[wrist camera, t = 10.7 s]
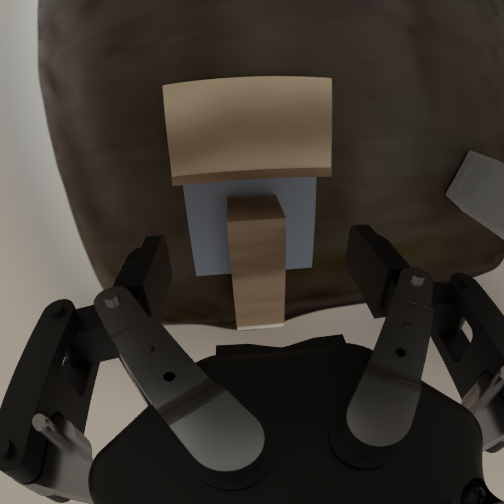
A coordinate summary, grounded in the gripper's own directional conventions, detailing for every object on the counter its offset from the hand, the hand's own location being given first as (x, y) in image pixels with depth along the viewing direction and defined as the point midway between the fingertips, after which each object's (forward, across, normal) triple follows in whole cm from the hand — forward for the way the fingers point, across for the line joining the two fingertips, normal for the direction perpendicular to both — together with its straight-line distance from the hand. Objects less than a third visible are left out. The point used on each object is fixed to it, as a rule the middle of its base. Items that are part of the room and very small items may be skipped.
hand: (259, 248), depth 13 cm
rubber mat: (+13, 0, +5) cm, 13 cm away
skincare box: (+13, -23, 0) cm, 27 cm away
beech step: (+13, 0, -4) cm, 13 cm away
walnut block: (+10, 0, +2) cm, 10 cm away
